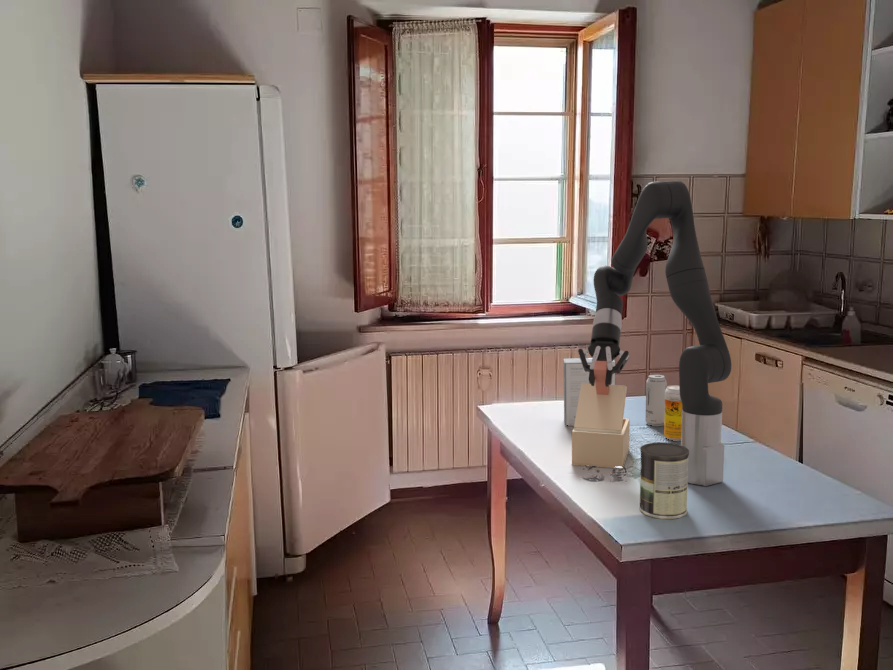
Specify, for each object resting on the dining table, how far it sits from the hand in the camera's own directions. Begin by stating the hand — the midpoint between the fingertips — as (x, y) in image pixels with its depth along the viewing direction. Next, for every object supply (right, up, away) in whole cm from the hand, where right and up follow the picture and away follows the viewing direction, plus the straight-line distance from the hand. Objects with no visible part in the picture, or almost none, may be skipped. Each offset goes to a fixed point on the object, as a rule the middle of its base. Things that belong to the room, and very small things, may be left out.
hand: (599, 384), depth 207 cm
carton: (+2, -20, +8) cm, 22 cm away
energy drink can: (+24, -15, +39) cm, 48 cm away
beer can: (+26, -17, +24) cm, 39 cm away
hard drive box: (+4, -15, +41) cm, 44 cm away
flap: (+1, -7, +4) cm, 8 cm away
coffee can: (+8, -26, -29) cm, 40 cm away
